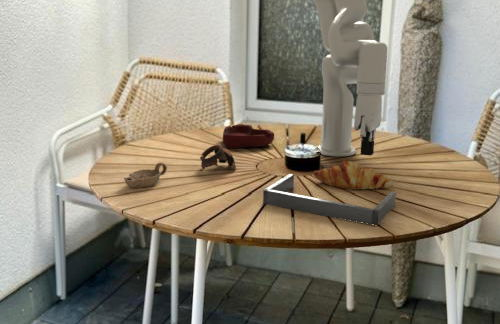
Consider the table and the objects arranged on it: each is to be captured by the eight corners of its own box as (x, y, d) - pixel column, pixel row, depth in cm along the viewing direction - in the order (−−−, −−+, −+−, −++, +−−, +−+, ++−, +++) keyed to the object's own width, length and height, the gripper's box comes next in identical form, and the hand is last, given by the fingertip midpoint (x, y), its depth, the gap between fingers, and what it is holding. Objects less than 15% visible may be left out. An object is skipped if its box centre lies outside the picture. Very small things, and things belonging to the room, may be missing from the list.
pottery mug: (237, 176, 166) (223, 153, 163) (208, 188, 169) (194, 165, 165) (240, 154, 177) (227, 132, 173) (213, 166, 179) (199, 144, 176)
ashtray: (206, 144, 199) (206, 129, 198) (243, 136, 210) (243, 122, 208) (242, 155, 186) (242, 139, 185) (278, 146, 197) (278, 132, 196)
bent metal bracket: (289, 186, 157) (289, 173, 156) (394, 205, 144) (396, 192, 143) (263, 203, 144) (263, 189, 143) (376, 226, 131) (377, 211, 130)
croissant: (391, 198, 160) (394, 169, 161) (392, 192, 150) (395, 161, 151) (313, 189, 164) (317, 161, 166) (310, 182, 155) (313, 153, 156)
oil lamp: (133, 193, 150) (132, 174, 149) (117, 186, 155) (116, 168, 154) (174, 182, 159) (174, 164, 157) (158, 176, 164) (158, 159, 163)
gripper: (365, 84, 168) (362, 147, 172) (348, 90, 155) (344, 158, 159) (392, 86, 164) (387, 150, 169) (376, 92, 151) (371, 162, 156)
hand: (366, 154), depth 164 cm, fingers closed
